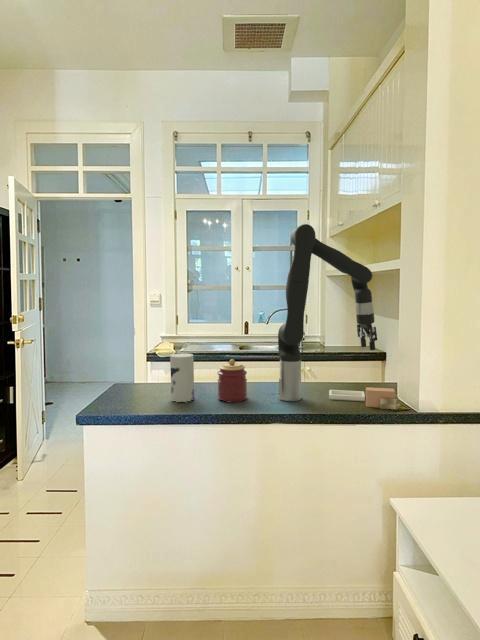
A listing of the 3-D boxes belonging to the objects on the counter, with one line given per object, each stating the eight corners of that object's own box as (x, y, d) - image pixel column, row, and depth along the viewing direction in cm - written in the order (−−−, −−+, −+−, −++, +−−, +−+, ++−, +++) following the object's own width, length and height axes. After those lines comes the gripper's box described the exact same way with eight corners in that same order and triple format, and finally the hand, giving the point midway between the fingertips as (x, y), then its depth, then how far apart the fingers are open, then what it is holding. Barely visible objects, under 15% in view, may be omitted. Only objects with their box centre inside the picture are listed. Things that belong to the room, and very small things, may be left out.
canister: (219, 394, 196) (218, 356, 195) (247, 394, 196) (247, 356, 194) (216, 403, 183) (215, 362, 182) (247, 402, 183) (246, 362, 181)
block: (366, 407, 175) (366, 390, 175) (365, 403, 180) (366, 387, 180) (394, 408, 173) (395, 391, 172) (393, 405, 178) (393, 388, 177)
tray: (328, 399, 187) (329, 394, 186) (329, 394, 195) (329, 389, 195) (364, 401, 183) (364, 396, 183) (363, 395, 192) (363, 391, 192)
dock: (380, 408, 173) (380, 398, 172) (378, 403, 180) (378, 393, 180) (398, 409, 171) (398, 399, 171) (396, 403, 179) (396, 394, 178)
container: (166, 400, 188) (165, 355, 187) (184, 395, 196) (183, 352, 194) (181, 404, 182) (180, 357, 180) (198, 399, 189) (198, 354, 187)
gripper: (350, 312, 196) (353, 347, 198) (364, 315, 182) (367, 352, 184) (365, 310, 197) (368, 344, 199) (380, 312, 183) (383, 349, 185)
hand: (368, 348), depth 192 cm, fingers open, 8 cm apart
